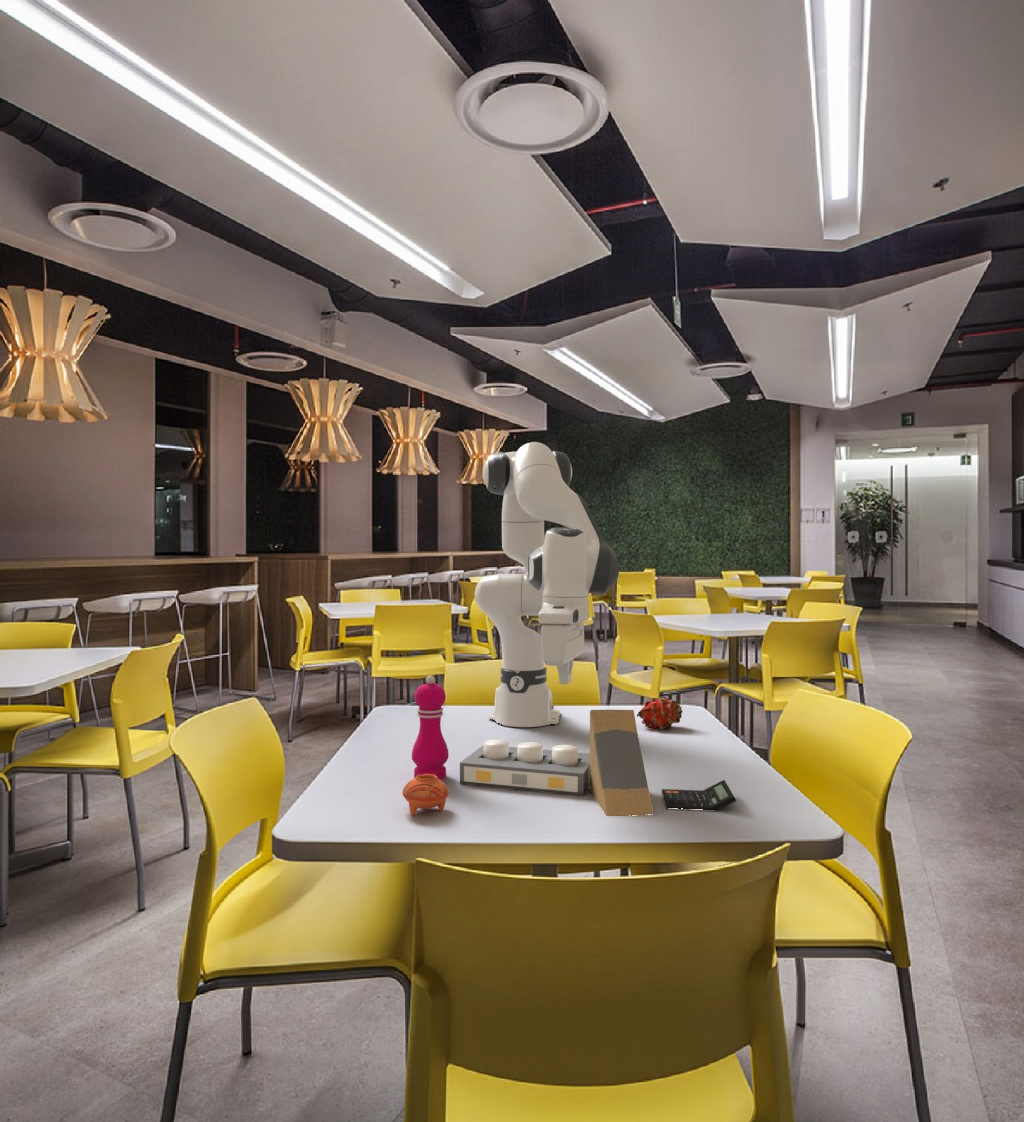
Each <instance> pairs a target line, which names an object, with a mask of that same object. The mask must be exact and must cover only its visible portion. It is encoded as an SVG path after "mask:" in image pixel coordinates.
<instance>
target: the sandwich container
mask: <svg viewBox="0 0 1024 1122" xmlns="http://www.w3.org/2000/svg"><path fill="white" fill-rule="evenodd" d="M634 710H635V709H590V710H589V746H590V747H589V753H590V786H589V788H590V791H591V793H592V795H593V797H594V799H595V801H596V800H597V801H596V803H597V804H598V803H599V804H598V806H599V807H600V808H602V809H601V810H602V812H603V811H604V812H603V814H605V816H606V817H607V816H629V815H630V816H632V815H646V814H647V815H648V814H651V815H652V814H654V815H655V813H654V808H653V803H652V799H651V798H652V797H651V794H650V793H651V792H650V790H649V785H648V779H647V775H646V770H645V769H646V768H645V765H644V760H643V754H642V750H641V744H640V738H639V734H638V728H637V721H636V717H635V711H634ZM632 817H633V816H632Z"/></svg>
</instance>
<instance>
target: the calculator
mask: <svg viewBox="0 0 1024 1122" xmlns="http://www.w3.org/2000/svg"><path fill="white" fill-rule="evenodd" d="M661 793H662V798H663V797H664V798H663V801H664V800H665V801H664V803H666V804H665V808H666V807H667V808H678V809H681V808H683V809H703V810H716V811H718V810H720V809H722V808H724V807H726V806H728V805H731V804H732V803H734V802H737V799H736V797H735V795H734V793H733V792H732V790H731V788H730V787H729V785H728V783H727V782H726V780H725V779H723V780H721V781H719V782H717V783H715V784H713V785H711V786H709V787H707V788H705V789H701V790H700V789H699V790H697V789H695V790H693V789H673V788H672V789H667V788H662V789H661ZM667 808H666V809H667Z"/></svg>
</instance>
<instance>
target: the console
mask: <svg viewBox="0 0 1024 1122" xmlns="http://www.w3.org/2000/svg"><path fill="white" fill-rule="evenodd" d="M483 756H484V744H482V745H481V746H480V747H478V748H477V749H476V750H475V751H473V752H472V753H471V754H469V755H468V756H467V757H465V758H464V759H462V761H460V762H459V784H462V785H470V786H471V785H472V786H481V787H489V788H490V787H493V788H500V787H502V789H510V788H513V790H521V789H522V791H533V792H541V791H543V792H544V793H551V792H552V793H553V794H561V795H562V794H563V795H572V796H581V795H583V796H585V794H586V793H587V791H588V789H589V788H590V752H589V753H588V752H579V751H578V765H577V766H566V765H555V764H552V749H543V761H542V762H541V763H532V762H520V761H517V746H516V747H514V746H509V757H508V758H507V759H506V760H497V759H486V758H483ZM543 792H542V793H543Z"/></svg>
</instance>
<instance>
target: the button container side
mask: <svg viewBox="0 0 1024 1122" xmlns="http://www.w3.org/2000/svg"><path fill="white" fill-rule="evenodd" d="M551 750H552V764H555V765H566V766H577V765H578V752H579V748H578V746H576V745H575V746H574V745H571V744H558V745H554V746H552V748H551Z"/></svg>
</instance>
